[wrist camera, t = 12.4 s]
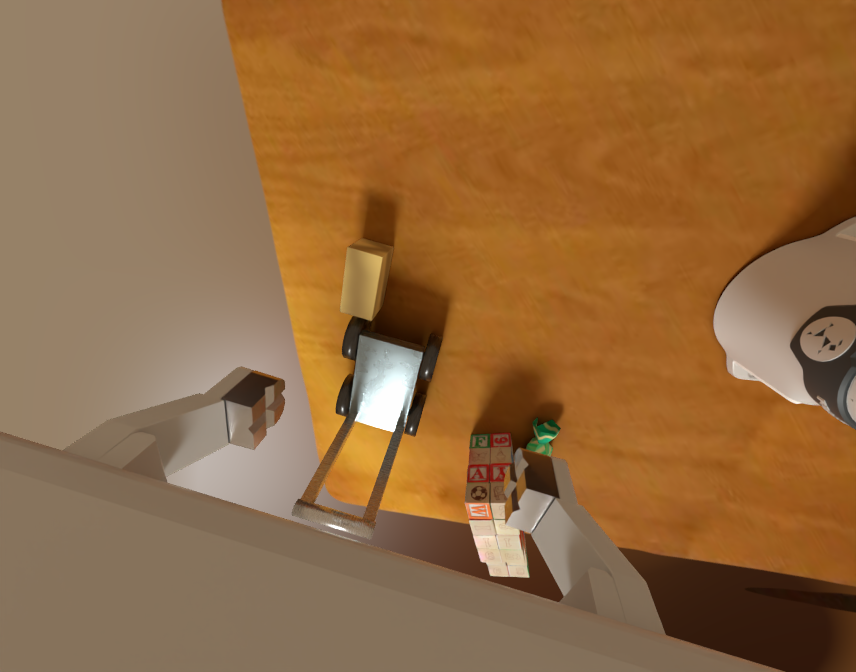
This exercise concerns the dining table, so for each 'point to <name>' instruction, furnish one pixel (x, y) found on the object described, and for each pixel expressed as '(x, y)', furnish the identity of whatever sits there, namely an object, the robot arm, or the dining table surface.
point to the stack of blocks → (493, 506)
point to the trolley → (372, 413)
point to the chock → (365, 278)
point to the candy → (543, 437)
